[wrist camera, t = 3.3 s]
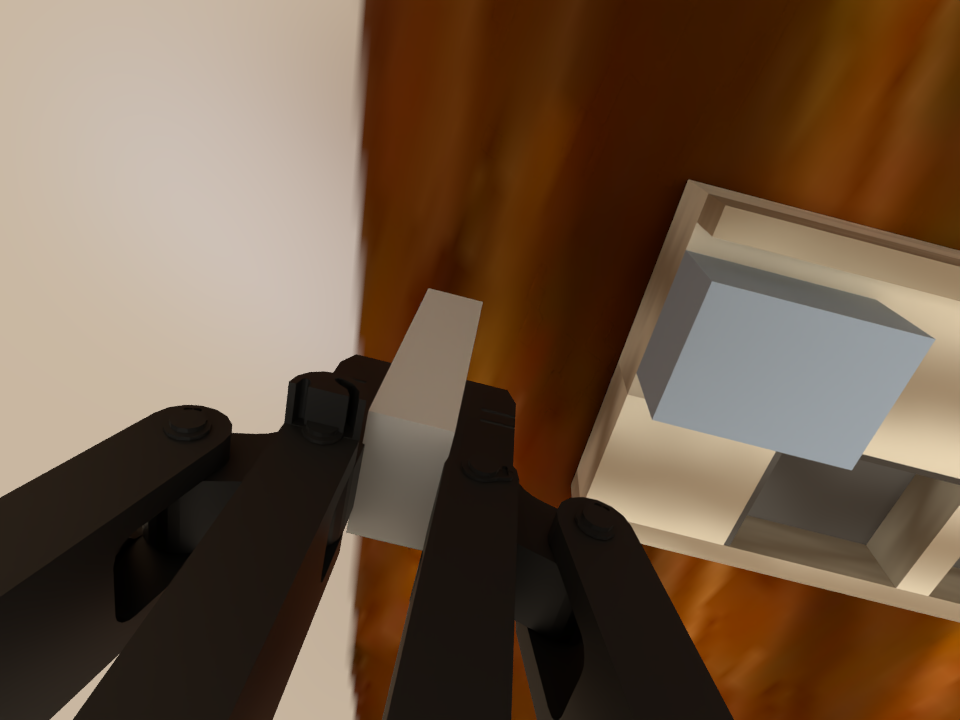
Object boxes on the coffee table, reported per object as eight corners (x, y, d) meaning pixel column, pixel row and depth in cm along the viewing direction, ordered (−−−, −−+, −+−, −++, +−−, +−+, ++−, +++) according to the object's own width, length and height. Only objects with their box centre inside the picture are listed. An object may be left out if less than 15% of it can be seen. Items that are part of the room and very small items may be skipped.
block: (685, 250, 21) (712, 281, 18) (876, 299, 21) (935, 339, 18) (636, 372, 23) (651, 419, 20) (809, 416, 23) (851, 470, 20)
